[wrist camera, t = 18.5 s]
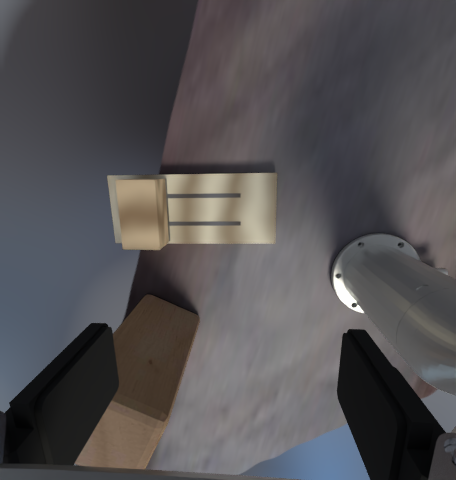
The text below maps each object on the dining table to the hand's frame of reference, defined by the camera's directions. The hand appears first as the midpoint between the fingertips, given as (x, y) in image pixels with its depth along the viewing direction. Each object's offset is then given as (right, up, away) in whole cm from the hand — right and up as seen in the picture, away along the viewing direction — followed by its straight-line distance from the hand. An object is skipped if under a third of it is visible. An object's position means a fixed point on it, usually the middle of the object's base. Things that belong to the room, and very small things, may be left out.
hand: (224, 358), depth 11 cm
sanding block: (-11, +9, +28) cm, 32 cm away
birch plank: (-5, +9, +29) cm, 31 cm away
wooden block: (-11, -10, +35) cm, 38 cm away
